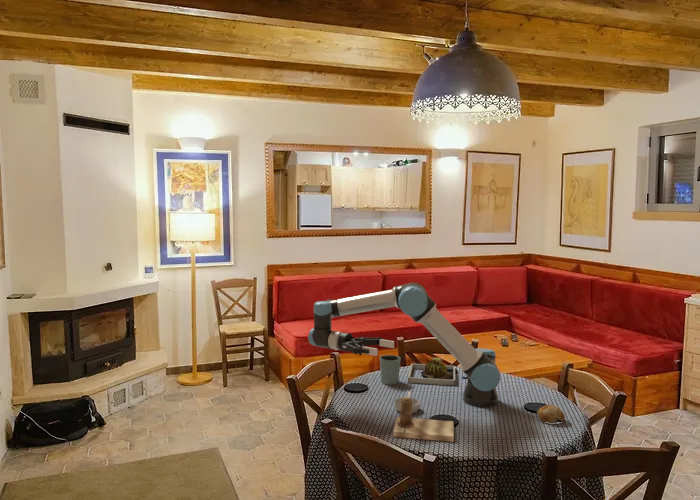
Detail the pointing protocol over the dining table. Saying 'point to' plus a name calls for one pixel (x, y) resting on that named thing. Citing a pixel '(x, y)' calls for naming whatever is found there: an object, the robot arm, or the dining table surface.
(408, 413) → the brown flanged cylinder
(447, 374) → the cactus
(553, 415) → the bread roll
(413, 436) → the board
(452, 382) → the plant tray
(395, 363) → the green cup
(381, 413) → the dining table surface
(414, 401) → the saucepan
